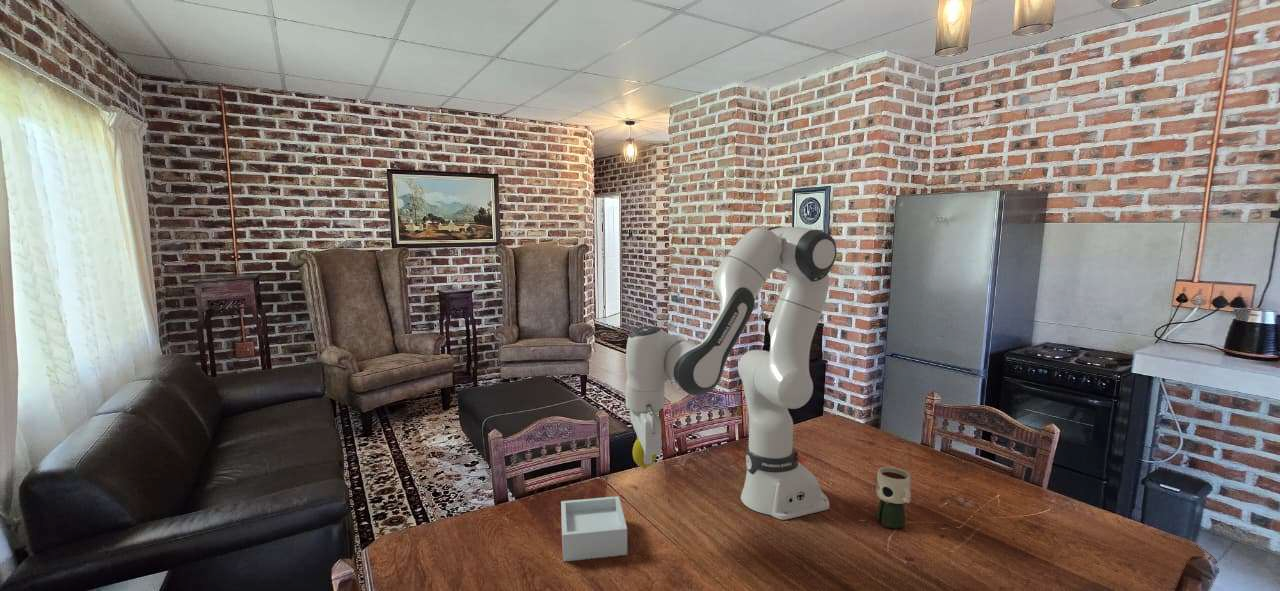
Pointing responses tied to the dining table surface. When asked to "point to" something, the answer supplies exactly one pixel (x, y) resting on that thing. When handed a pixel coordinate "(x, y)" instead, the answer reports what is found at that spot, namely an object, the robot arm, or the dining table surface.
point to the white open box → (593, 528)
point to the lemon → (640, 455)
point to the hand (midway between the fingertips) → (644, 456)
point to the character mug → (892, 495)
